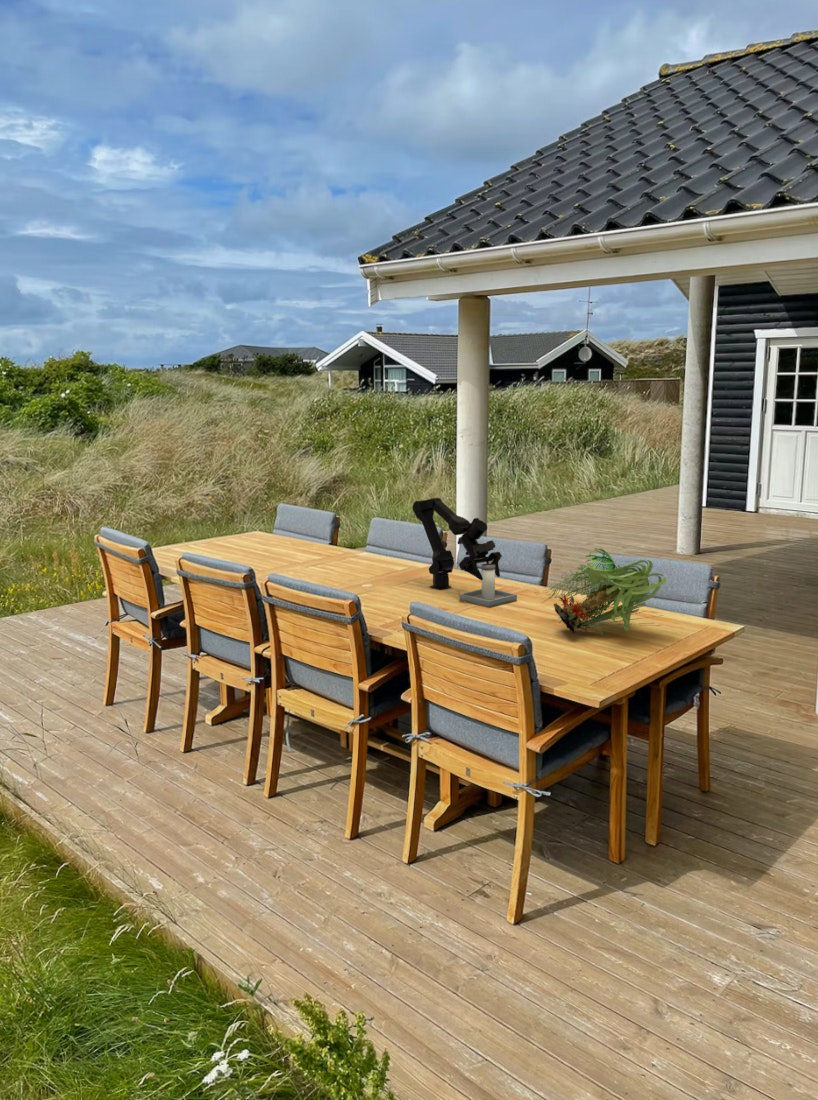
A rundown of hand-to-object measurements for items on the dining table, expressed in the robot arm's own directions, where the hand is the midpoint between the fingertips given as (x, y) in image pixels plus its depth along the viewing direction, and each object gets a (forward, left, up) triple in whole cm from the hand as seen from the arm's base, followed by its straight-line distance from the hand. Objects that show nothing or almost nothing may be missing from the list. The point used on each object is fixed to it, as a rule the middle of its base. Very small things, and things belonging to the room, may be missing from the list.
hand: (490, 578), depth 339 cm
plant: (+52, -3, -10) cm, 53 cm away
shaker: (-1, 0, -8) cm, 9 cm away
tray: (-1, 0, -9) cm, 9 cm away
